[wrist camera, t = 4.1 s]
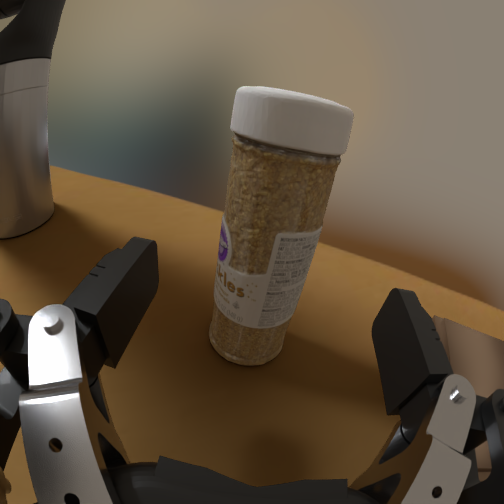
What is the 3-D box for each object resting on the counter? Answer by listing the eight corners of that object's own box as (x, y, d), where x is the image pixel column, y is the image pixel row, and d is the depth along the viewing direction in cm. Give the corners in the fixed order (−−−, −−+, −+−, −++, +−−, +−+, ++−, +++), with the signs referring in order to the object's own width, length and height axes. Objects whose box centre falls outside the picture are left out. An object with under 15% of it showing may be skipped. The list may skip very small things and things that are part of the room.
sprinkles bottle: (197, 322, 17) (217, 82, 10) (259, 305, 19) (304, 96, 12) (230, 381, 14) (284, 86, 6) (298, 353, 16) (379, 114, 9)
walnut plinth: (388, 497, 8) (441, 476, 6) (408, 351, 17) (437, 310, 15) (509, 496, 5) (554, 469, 3) (503, 381, 14) (532, 348, 11)
